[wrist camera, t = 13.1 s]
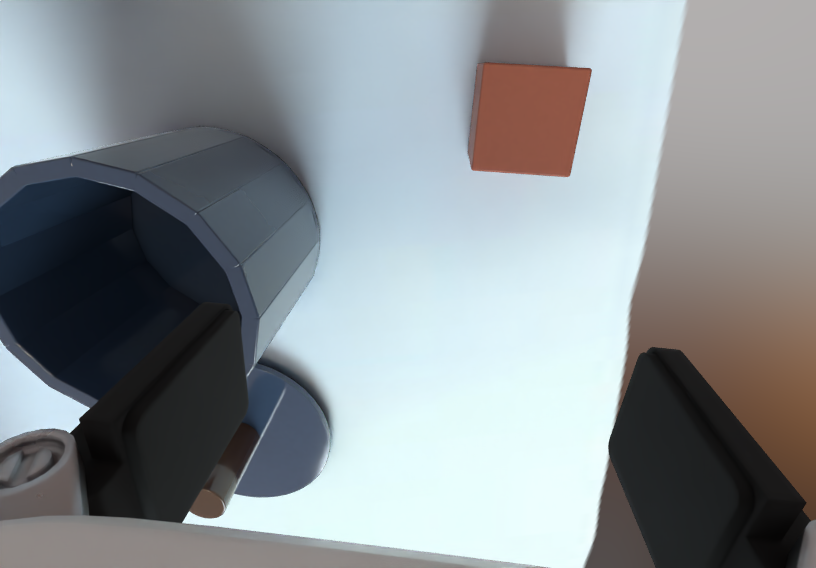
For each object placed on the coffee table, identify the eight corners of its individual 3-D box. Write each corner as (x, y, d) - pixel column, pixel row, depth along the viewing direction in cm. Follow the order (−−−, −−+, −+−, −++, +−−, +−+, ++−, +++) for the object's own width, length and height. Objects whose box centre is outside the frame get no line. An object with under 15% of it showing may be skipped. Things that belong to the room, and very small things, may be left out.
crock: (85, 196, 26) (-95, 259, 17) (230, 81, 23) (97, 89, 14) (217, 343, 30) (124, 455, 21) (358, 263, 26) (316, 357, 18)
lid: (128, 396, 32) (56, 470, 26) (257, 323, 29) (207, 389, 23) (240, 504, 36) (200, 589, 30) (366, 452, 33) (348, 536, 27)
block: (467, 154, 23) (471, 170, 19) (477, 63, 21) (483, 61, 18) (550, 159, 23) (570, 177, 19) (567, 68, 21) (593, 68, 17)
